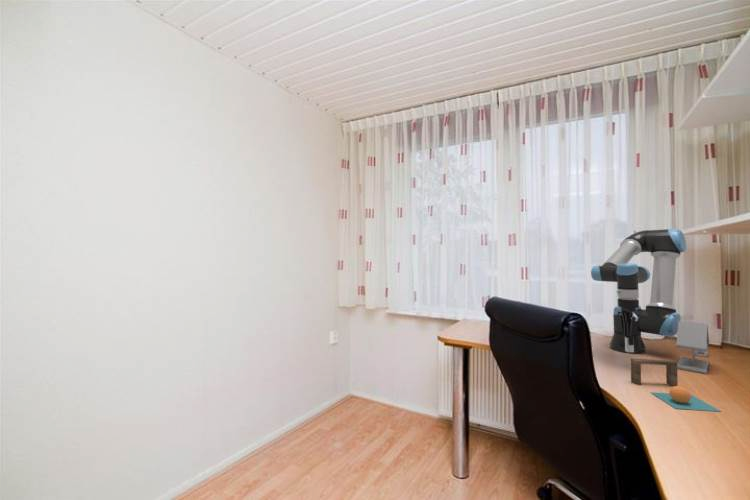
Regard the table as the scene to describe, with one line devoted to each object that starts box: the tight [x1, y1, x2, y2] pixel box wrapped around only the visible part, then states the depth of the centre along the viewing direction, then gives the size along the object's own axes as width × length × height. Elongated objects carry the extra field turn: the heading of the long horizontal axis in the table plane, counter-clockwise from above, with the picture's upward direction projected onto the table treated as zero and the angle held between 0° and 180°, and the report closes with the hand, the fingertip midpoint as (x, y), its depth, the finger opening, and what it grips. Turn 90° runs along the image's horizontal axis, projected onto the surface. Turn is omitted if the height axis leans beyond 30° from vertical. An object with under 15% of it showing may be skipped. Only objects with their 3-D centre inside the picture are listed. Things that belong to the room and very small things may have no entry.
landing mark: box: [650, 391, 722, 413], centre depth 117 cm, size 13×13×1 cm
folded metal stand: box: [675, 320, 711, 375], centre depth 152 cm, size 18×10×20 cm, turn 133°
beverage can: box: [695, 344, 709, 357], centre depth 169 cm, size 6×6×15 cm
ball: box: [668, 385, 692, 403], centre depth 116 cm, size 6×6×6 cm
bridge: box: [630, 358, 679, 387], centre depth 133 cm, size 3×14×9 cm, turn 80°
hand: (629, 351), depth 150 cm, fingers closed
